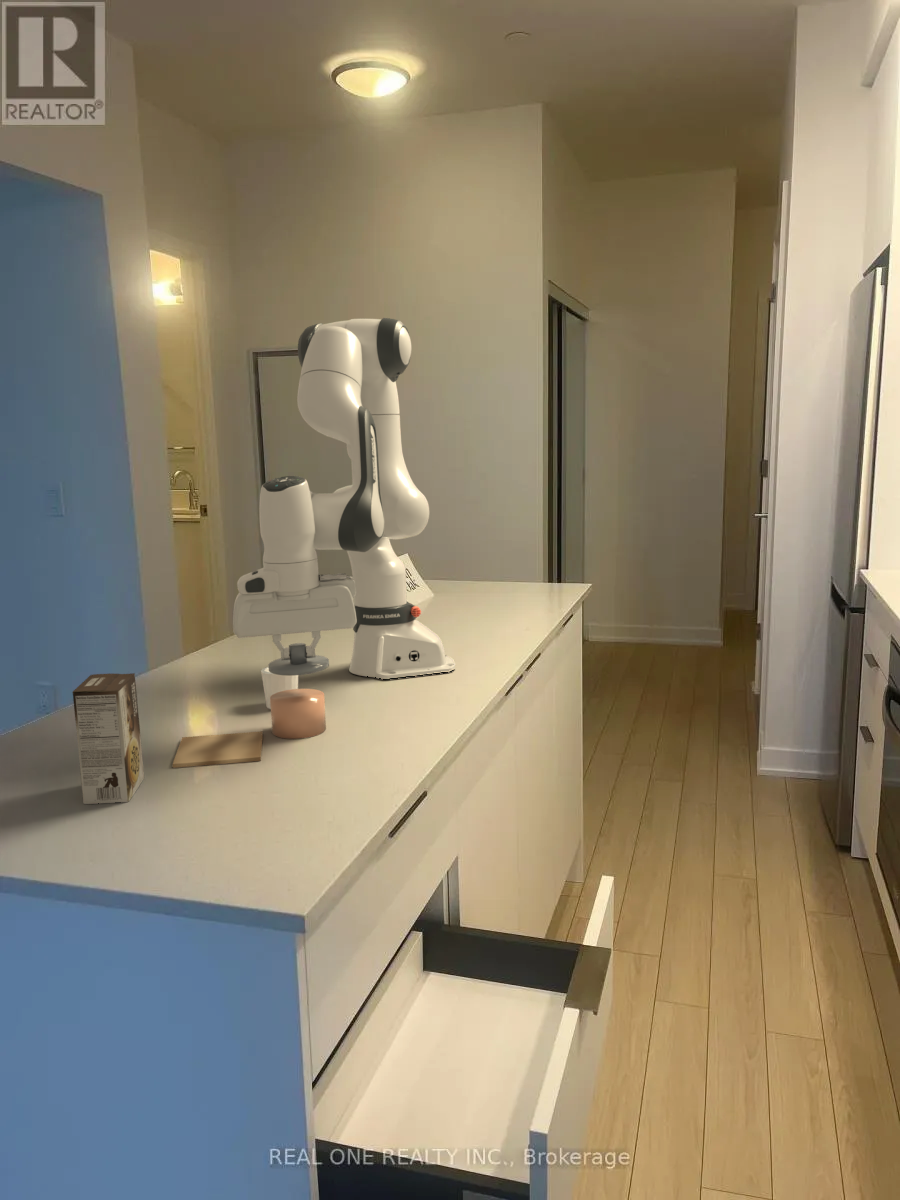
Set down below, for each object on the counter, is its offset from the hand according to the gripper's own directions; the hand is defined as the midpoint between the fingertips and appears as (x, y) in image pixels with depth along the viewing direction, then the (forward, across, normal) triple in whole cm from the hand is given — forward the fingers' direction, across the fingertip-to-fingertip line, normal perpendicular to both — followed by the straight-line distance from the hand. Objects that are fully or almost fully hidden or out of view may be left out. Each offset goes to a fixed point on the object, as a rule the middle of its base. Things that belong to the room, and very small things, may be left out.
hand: (298, 658), depth 154 cm
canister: (+12, +1, +1) cm, 12 cm away
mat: (+12, +13, +8) cm, 20 cm away
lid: (+2, 0, 0) cm, 2 cm away
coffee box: (+11, +27, +22) cm, 37 cm away
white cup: (+13, +4, -15) cm, 20 cm away
